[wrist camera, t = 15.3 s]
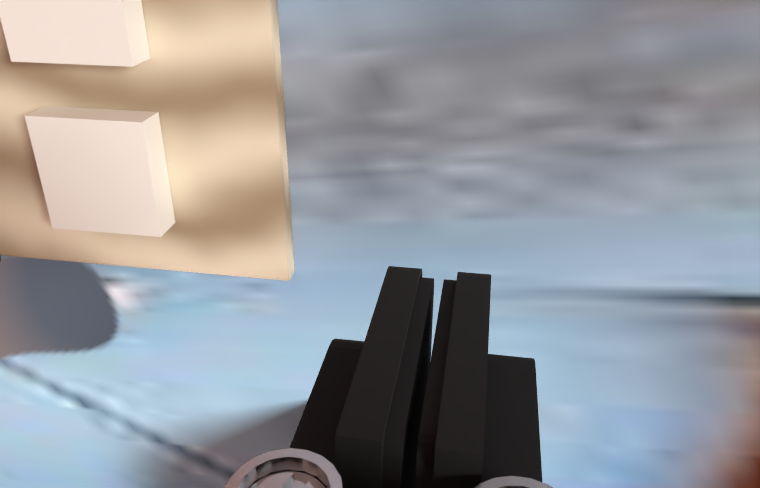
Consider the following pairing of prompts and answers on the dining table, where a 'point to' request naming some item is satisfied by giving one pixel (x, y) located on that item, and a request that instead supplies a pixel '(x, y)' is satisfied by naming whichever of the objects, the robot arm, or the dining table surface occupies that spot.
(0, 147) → the birch board
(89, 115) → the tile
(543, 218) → the dining table surface
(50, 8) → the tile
